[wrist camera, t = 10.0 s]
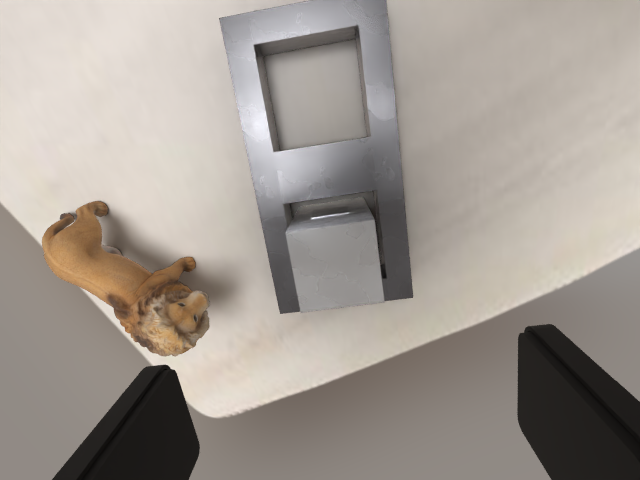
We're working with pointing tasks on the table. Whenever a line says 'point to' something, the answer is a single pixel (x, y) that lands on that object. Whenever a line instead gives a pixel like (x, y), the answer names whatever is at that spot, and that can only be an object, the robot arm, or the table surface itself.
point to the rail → (326, 159)
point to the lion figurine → (128, 284)
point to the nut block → (335, 255)
